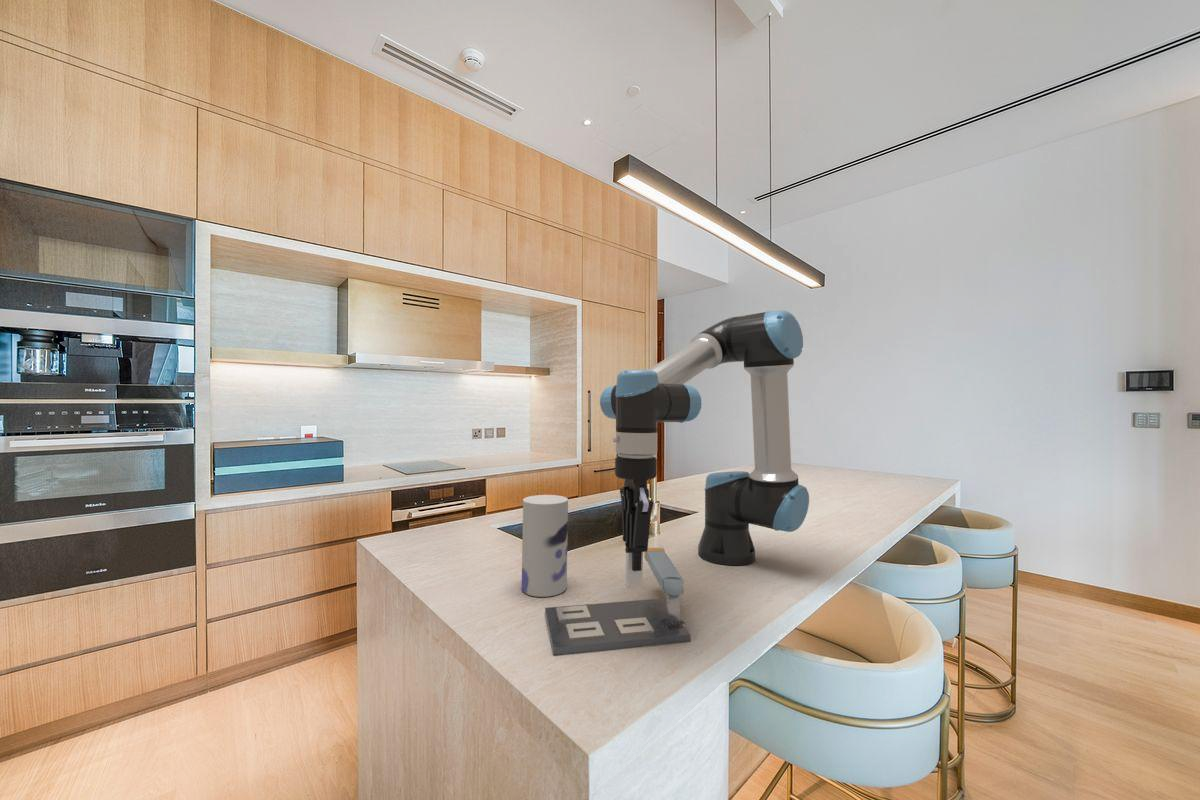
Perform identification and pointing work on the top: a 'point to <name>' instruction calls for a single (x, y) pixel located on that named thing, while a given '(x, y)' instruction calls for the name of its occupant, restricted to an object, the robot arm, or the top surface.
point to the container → (544, 545)
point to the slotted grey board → (611, 626)
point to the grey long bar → (664, 571)
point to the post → (673, 612)
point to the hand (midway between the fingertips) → (634, 586)
